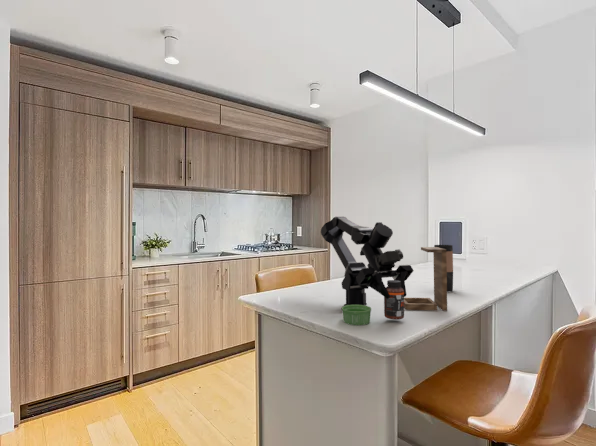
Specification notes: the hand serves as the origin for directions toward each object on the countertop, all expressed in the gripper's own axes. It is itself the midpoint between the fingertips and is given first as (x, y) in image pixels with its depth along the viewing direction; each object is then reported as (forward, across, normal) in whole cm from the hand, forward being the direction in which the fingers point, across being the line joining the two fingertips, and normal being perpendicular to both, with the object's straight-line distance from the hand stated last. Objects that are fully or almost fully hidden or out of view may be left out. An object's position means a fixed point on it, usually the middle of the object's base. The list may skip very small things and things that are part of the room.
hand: (397, 296), depth 106 cm
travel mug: (-16, +50, +28) cm, 59 cm away
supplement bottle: (+4, 0, +6) cm, 7 cm away
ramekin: (+1, -11, +10) cm, 15 cm away
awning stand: (-3, +21, +14) cm, 26 cm away
